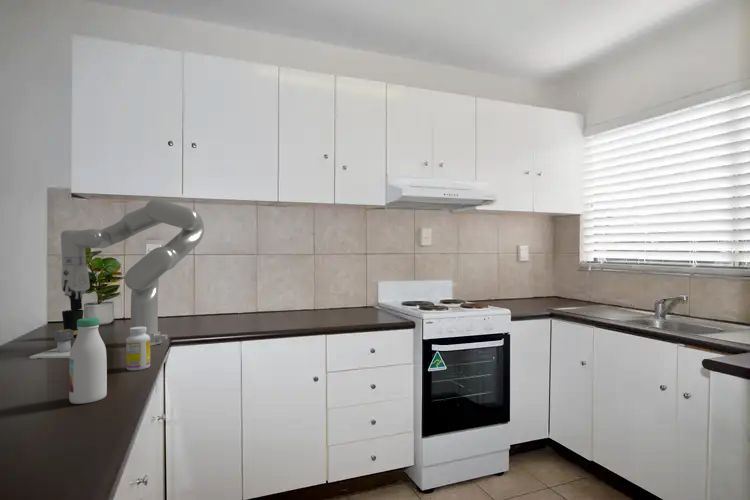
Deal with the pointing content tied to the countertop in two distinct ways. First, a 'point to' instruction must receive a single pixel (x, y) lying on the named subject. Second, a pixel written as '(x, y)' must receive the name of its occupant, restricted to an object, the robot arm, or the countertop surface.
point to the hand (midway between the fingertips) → (76, 309)
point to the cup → (71, 319)
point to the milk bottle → (87, 364)
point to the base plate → (56, 351)
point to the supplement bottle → (138, 349)
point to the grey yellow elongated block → (64, 334)
